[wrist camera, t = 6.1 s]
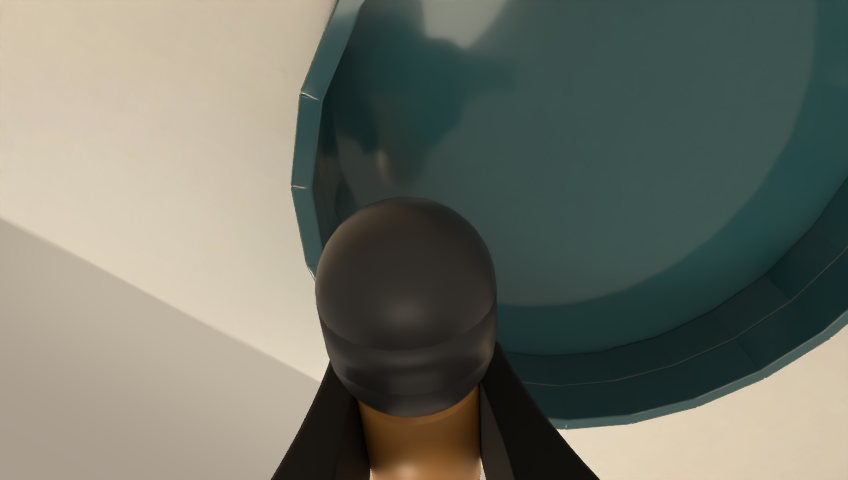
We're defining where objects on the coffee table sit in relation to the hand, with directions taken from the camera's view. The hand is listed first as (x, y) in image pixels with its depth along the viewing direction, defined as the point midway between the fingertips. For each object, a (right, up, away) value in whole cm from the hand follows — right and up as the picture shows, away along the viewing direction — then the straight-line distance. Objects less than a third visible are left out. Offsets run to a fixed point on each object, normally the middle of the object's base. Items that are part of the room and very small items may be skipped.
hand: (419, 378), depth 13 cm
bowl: (+6, +6, +6) cm, 11 cm away
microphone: (0, 0, 0) cm, 0 cm away
